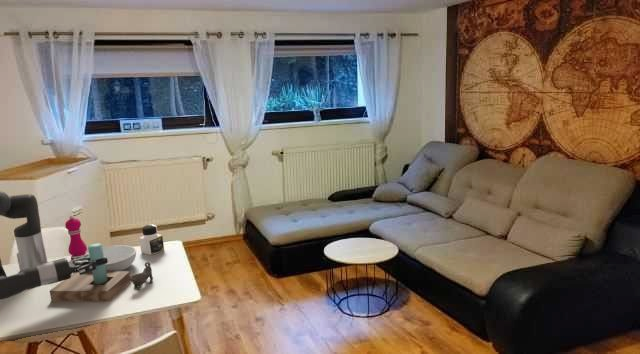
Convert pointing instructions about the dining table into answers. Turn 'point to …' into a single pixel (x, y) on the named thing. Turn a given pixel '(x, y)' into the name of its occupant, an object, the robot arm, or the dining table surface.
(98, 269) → the pin
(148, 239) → the medicine bottle
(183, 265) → the dining table surface
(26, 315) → the dining table surface
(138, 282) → the dog figurine
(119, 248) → the serving bowl
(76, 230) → the pepper mill
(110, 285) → the socket board
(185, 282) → the dining table surface
